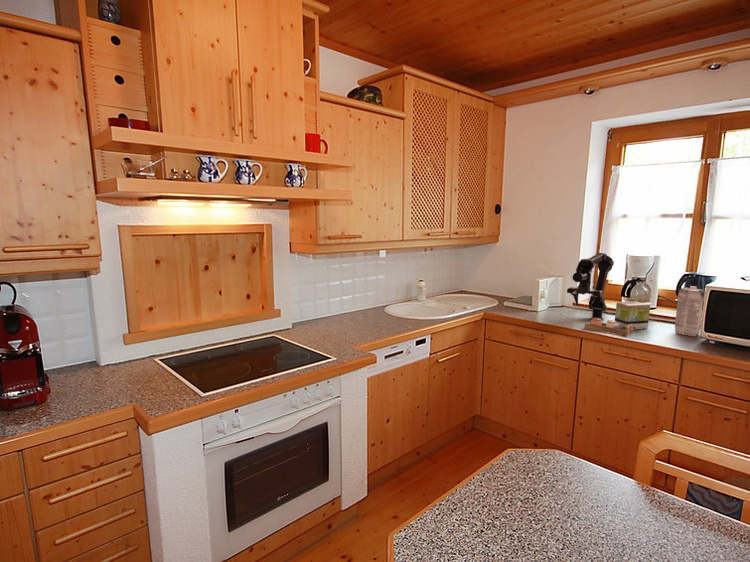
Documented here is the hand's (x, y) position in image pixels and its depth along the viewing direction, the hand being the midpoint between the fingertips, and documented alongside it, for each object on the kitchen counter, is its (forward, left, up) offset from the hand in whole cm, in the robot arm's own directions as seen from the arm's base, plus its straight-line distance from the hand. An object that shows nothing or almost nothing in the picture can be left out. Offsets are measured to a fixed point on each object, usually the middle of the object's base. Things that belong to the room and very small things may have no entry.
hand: (583, 305), depth 253 cm
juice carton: (-18, +49, -12) cm, 54 cm away
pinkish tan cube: (+5, +10, -12) cm, 16 cm away
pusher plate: (+5, +21, -11) cm, 25 cm away
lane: (+5, +16, -11) cm, 20 cm away
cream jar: (+5, +18, -12) cm, 22 cm away
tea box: (-12, +23, -12) cm, 29 cm away
